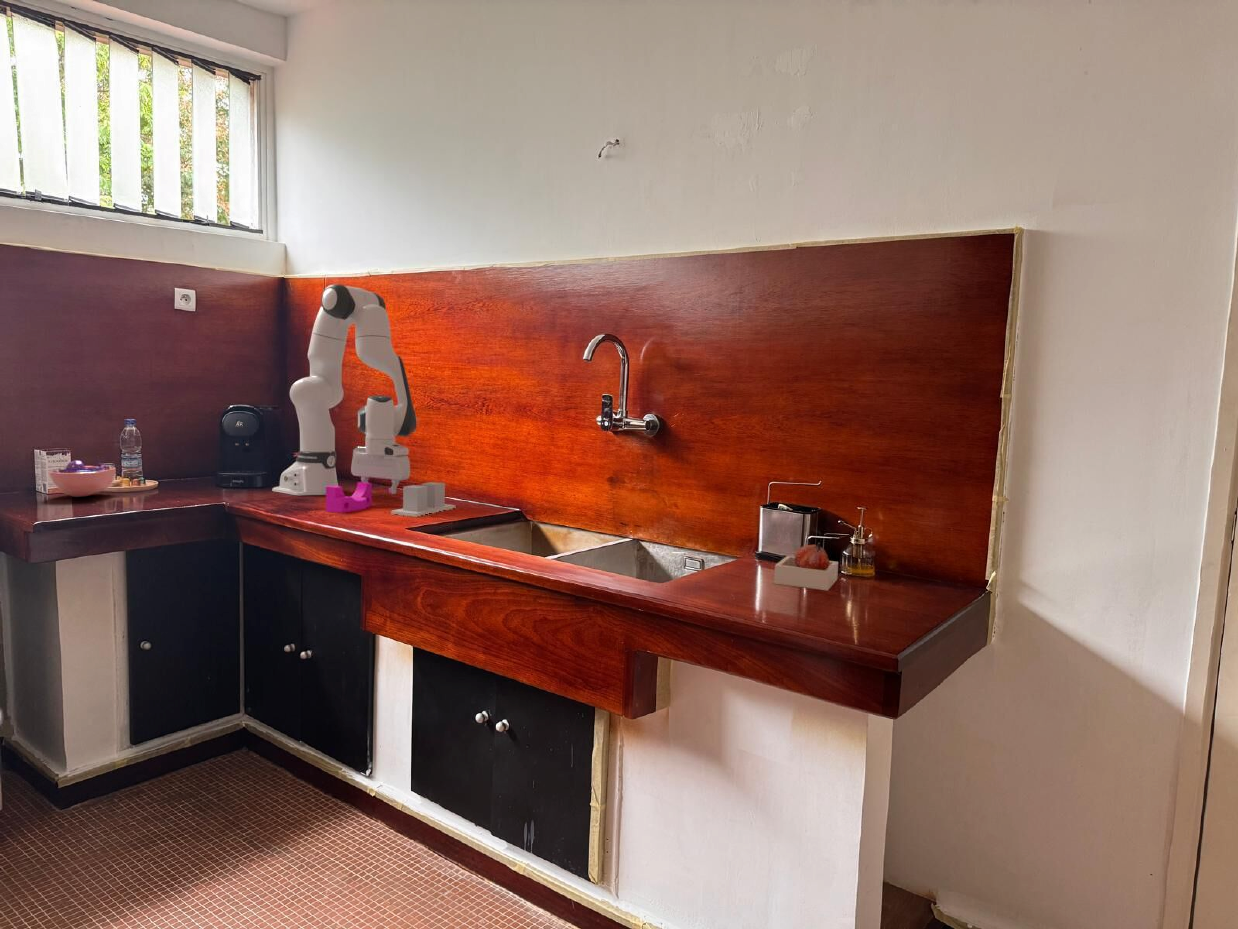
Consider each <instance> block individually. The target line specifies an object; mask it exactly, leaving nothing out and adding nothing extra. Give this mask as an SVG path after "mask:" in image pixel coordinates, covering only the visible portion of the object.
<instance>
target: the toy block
mask: <svg viewBox="0 0 1238 929" xmlns="http://www.w3.org/2000/svg"><path fill="white" fill-rule="evenodd" d="M368 482H369V481H368ZM368 482H362V481H359V482H357V485H356V489H355V491H354V493H353V494H352V495H351V496H346V495H345V493H344V490H343V487H342V486H339V485H338V486H327V487H326V495H325V512H328V513H338V514H339V513H340V514H342V513H343V514H345V513H349V512H356V511H361V510H367V509H366V508H367V507H372V490H371V489H372V485H373V484H372V483H373V482H369V483H368Z"/></svg>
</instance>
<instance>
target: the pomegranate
mask: <svg viewBox="0 0 1238 929" xmlns="http://www.w3.org/2000/svg"><path fill="white" fill-rule="evenodd" d="M794 557H795V564H796V566H798V567H801V568H809V569H817V570H826V569H827V568H828V567H829V561H830V560H829V557H828V553H827V552H826V550H825V549H824V548H822V547H821V543H820V542H818V543H817V544H808V545H807V544H806V545H803V546H801V547H800V548H799V549H798V550H797V551H796V553H795V555H794Z"/></svg>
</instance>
